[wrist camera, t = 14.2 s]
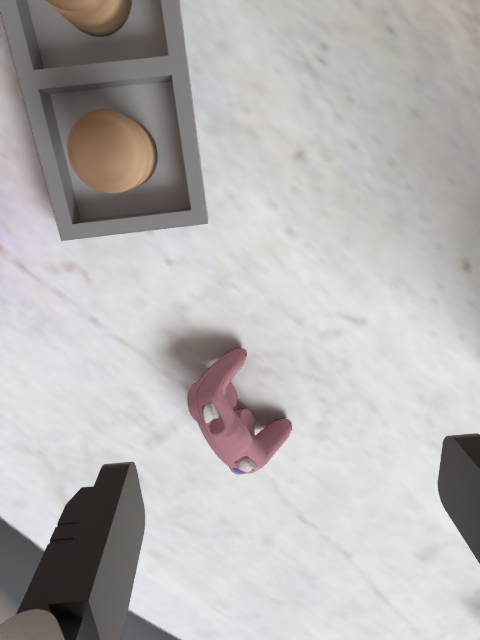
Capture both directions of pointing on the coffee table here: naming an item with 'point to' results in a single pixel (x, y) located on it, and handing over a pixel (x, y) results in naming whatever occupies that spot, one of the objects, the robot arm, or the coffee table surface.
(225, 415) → the video game controller
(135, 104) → the egg carton
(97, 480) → the robot arm
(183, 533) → the coffee table surface
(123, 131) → the seated egg
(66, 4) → the brown rounded oblong
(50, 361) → the coffee table surface
